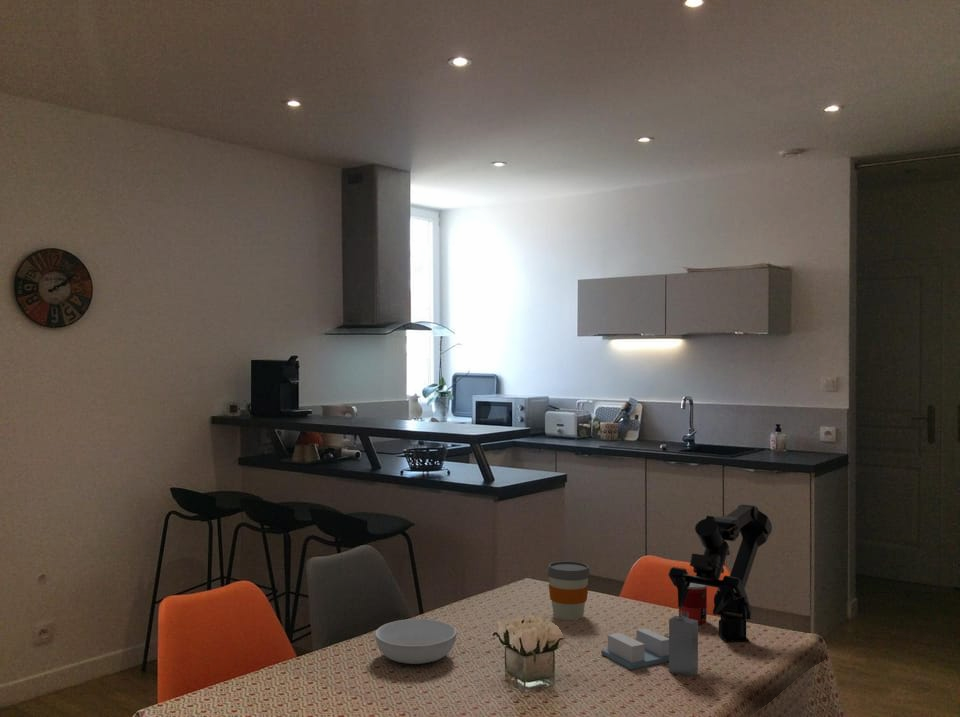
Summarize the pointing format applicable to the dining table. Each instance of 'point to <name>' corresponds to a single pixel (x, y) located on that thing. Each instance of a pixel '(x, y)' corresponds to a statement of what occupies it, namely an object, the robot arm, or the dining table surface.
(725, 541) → the robot arm
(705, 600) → the canned food
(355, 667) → the dining table surface
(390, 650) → the serving bowl
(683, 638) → the steel bar
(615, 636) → the vise
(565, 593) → the reusable coffee cup
